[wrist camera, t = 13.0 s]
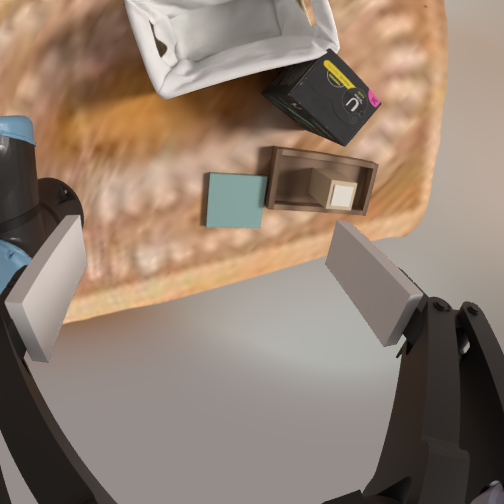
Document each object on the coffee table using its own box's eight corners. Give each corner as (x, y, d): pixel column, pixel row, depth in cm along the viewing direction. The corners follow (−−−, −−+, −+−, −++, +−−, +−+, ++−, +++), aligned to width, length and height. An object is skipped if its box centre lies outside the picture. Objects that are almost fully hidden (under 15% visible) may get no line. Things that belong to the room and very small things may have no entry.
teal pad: (206, 224, 53) (206, 227, 53) (209, 172, 49) (210, 173, 48) (258, 226, 56) (259, 228, 55) (266, 175, 51) (267, 177, 50)
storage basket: (166, 98, 41) (159, 106, 29) (136, 16, 31) (118, -8, 19) (302, 58, 41) (346, 56, 29) (277, -21, 32) (313, -49, 20)
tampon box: (337, 95, 45) (384, 102, 33) (306, 132, 48) (346, 149, 36) (292, 55, 40) (331, 45, 28) (259, 93, 43) (286, 95, 31)
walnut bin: (264, 204, 54) (268, 209, 52) (273, 146, 48) (277, 148, 46) (359, 210, 59) (365, 215, 57) (371, 161, 53) (378, 164, 51)
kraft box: (308, 192, 54) (326, 208, 47) (312, 167, 51) (332, 180, 45) (331, 194, 55) (351, 210, 48) (336, 170, 53) (357, 183, 46)
